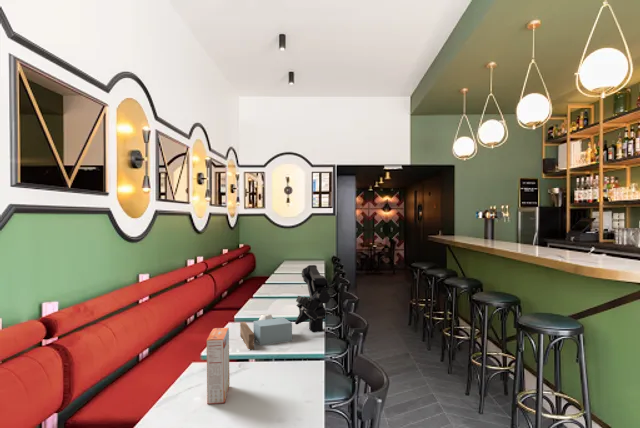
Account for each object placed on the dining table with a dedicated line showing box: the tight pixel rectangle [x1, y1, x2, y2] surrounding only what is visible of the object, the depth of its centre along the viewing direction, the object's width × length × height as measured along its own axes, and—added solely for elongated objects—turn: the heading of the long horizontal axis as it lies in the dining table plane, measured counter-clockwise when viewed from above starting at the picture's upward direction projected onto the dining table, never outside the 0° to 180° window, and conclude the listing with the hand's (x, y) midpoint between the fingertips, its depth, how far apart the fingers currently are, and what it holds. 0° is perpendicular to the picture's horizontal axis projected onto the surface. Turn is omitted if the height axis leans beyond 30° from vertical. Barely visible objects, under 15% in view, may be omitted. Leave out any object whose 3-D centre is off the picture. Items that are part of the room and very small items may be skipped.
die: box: [258, 313, 274, 320], centre depth 217 cm, size 8×9×10 cm
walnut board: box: [239, 321, 255, 350], centre depth 194 cm, size 2×24×7 cm, turn 20°
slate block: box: [253, 317, 293, 346], centre depth 199 cm, size 16×12×9 cm
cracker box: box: [205, 327, 230, 405], centre depth 135 cm, size 14×6×21 cm, turn 6°
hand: (295, 323), depth 203 cm, fingers closed
